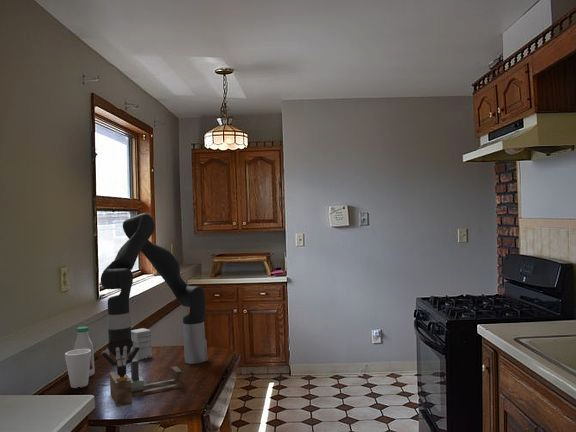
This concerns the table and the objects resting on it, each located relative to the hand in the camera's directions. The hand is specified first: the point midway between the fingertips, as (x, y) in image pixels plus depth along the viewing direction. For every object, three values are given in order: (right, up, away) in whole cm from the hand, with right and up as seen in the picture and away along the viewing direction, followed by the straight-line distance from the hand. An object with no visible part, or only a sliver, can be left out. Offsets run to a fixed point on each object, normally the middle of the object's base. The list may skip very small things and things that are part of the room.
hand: (121, 376), depth 175 cm
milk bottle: (-27, -11, +35) cm, 46 cm away
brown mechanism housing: (+7, -9, +8) cm, 14 cm away
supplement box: (-11, -11, +60) cm, 62 cm away
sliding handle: (+2, -8, +10) cm, 13 cm away
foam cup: (-24, -11, +22) cm, 34 cm away
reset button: (0, -5, 0) cm, 5 cm away
